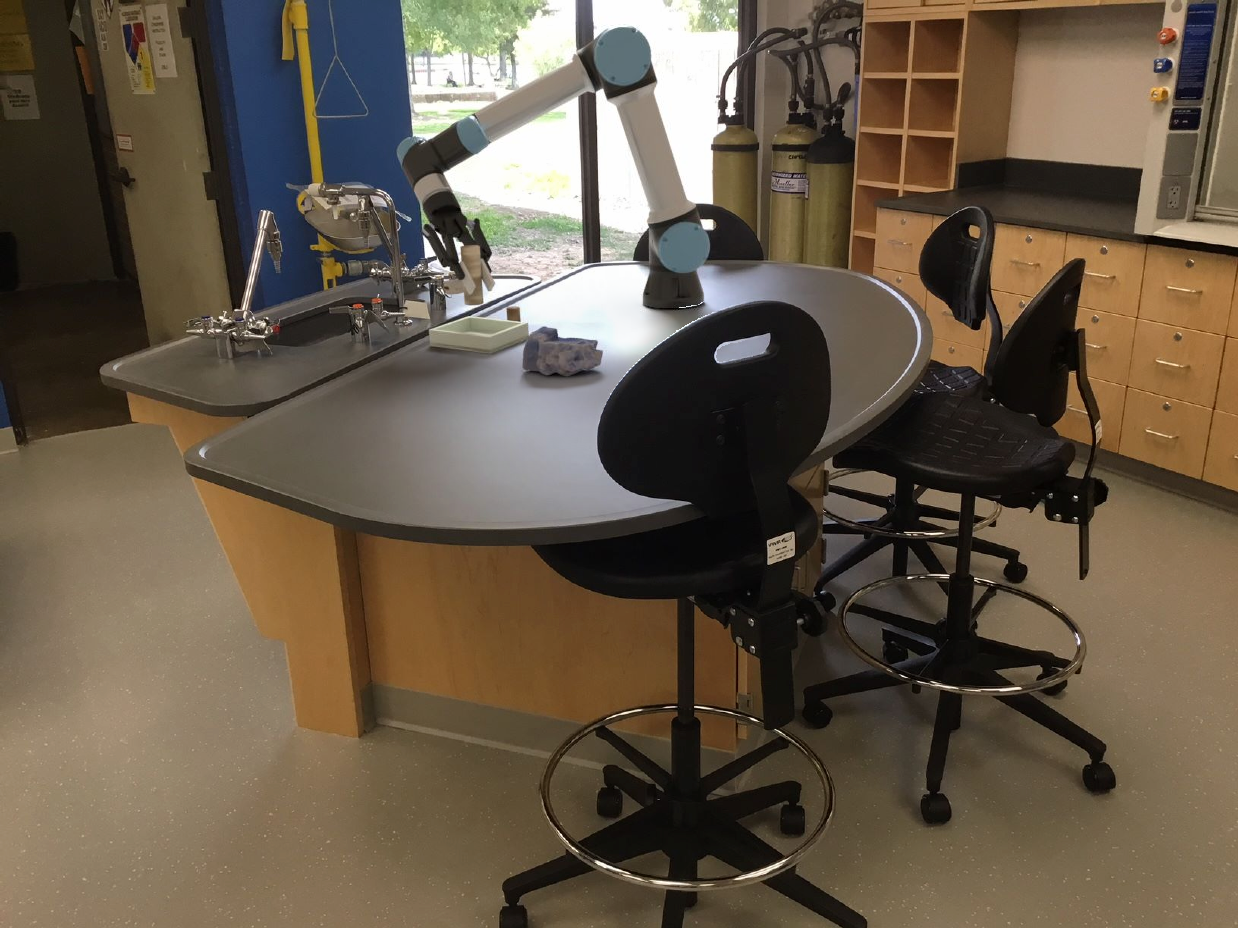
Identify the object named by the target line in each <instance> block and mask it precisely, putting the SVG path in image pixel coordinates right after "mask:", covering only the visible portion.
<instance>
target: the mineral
mask: <svg viewBox="0 0 1238 928" xmlns="http://www.w3.org/2000/svg"><path fill="white" fill-rule="evenodd" d="M598 343H599V342H598V340H597V339H587V338H580V337H560V336H559V334H558V329H557V328H555V327H554V328H553V327H548V326H541V327H539V328H538V329H537V330H534V331H532V332H531V333H530V334H529V338H528V339H526V340H525V343H524V347H523V350H522V369H523V370H525V371H531V372H532V371H533V372H534V371H535V372H539V373H540V374H542V375H544V376H550V375H552V374H554V373H556V374H559V375H560V376H562V377H570V376H572V375H575V374H577V373H580V372H581V371H583V370H585V371H589V370H592V369H595V368H597V367H599V366H600V365H601V363H602V359H603V354H604V351H603V350H602V349H597V346H598Z"/></svg>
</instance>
